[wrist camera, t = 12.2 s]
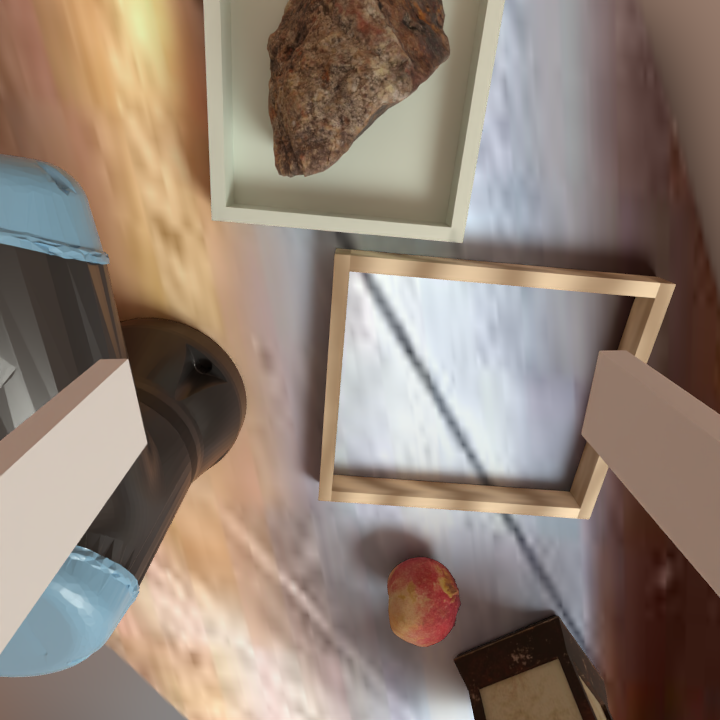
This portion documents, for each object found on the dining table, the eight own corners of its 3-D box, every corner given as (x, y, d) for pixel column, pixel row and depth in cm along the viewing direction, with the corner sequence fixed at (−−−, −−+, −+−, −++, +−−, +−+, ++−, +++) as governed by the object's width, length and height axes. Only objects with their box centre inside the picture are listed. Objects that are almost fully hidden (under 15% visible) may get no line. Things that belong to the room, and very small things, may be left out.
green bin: (224, 214, 36) (211, 220, 33) (214, -151, 28) (195, -191, 24) (453, 235, 37) (462, 243, 33) (511, -115, 28) (531, -150, 25)
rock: (470, 86, 33) (408, -76, 29) (517, 57, 25) (441, -171, 21) (292, 190, 34) (213, 49, 31) (282, 195, 26) (174, 4, 23)
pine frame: (320, 483, 46) (318, 500, 44) (336, 248, 37) (334, 254, 35) (578, 501, 47) (589, 519, 45) (656, 276, 38) (675, 284, 36)
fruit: (395, 531, 49) (402, 597, 42) (463, 548, 50) (480, 616, 43) (372, 582, 52) (374, 652, 45) (436, 597, 53) (448, 668, 46)
